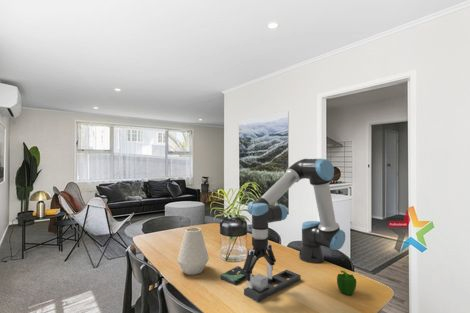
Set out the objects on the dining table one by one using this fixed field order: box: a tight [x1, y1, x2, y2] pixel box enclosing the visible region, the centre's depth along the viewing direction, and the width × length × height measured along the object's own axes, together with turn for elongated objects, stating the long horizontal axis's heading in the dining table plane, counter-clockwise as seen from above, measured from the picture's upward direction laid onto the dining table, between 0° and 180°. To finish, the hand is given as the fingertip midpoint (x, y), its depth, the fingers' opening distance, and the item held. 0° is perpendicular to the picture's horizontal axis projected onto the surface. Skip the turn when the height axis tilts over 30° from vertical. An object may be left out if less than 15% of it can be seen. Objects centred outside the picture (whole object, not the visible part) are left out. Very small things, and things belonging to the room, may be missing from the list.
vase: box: [176, 227, 209, 276], centre depth 146 cm, size 18×17×23 cm
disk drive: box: [220, 265, 253, 286], centre depth 138 cm, size 10×3×15 cm
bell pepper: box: [336, 270, 357, 296], centre depth 123 cm, size 8×8×10 cm
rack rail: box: [243, 269, 301, 303], centre depth 128 cm, size 32×9×2 cm, turn 131°
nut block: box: [252, 273, 268, 293], centre depth 121 cm, size 5×5×8 cm
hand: (259, 282), depth 121 cm, fingers open, 13 cm apart
